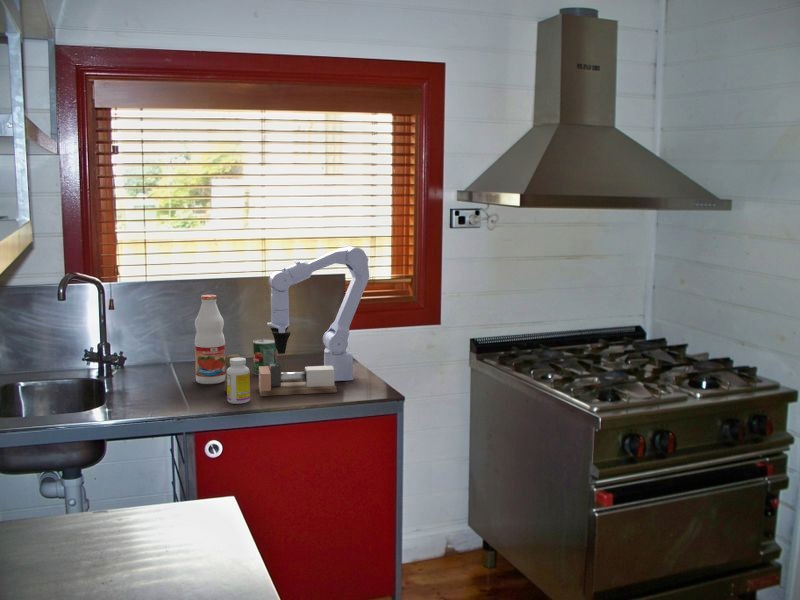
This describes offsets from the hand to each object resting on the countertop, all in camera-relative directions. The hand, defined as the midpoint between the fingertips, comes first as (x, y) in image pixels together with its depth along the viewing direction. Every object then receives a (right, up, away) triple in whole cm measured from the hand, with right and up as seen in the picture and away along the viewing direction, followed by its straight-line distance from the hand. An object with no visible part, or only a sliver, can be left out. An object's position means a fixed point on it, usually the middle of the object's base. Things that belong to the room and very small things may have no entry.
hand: (280, 351), depth 265 cm
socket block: (-3, -10, -10) cm, 15 cm away
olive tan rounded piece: (-13, -12, -7) cm, 19 cm away
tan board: (+6, -12, -7) cm, 15 cm away
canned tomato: (-7, -9, +14) cm, 18 cm away
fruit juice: (-23, -10, +2) cm, 25 cm away
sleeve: (+13, -10, -6) cm, 18 cm away
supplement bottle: (-9, -14, -21) cm, 27 cm away
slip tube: (+4, -10, -8) cm, 13 cm away
